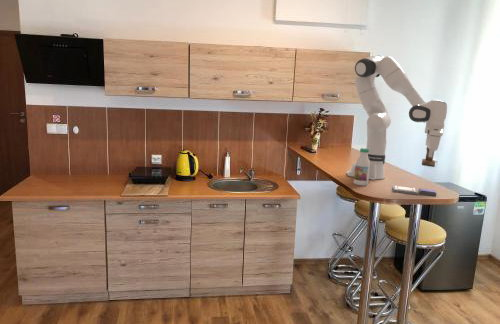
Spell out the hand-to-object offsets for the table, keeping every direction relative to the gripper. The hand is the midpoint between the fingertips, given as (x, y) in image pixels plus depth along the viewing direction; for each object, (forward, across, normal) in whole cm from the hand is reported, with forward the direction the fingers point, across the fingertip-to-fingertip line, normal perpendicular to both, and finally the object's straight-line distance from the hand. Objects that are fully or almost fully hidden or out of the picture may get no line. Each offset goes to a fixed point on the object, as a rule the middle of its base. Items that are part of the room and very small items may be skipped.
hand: (429, 156), depth 212 cm
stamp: (+5, 0, 0) cm, 5 cm away
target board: (+19, +9, -10) cm, 23 cm away
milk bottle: (+20, +6, -33) cm, 39 cm away
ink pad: (+19, +9, +1) cm, 21 cm away
